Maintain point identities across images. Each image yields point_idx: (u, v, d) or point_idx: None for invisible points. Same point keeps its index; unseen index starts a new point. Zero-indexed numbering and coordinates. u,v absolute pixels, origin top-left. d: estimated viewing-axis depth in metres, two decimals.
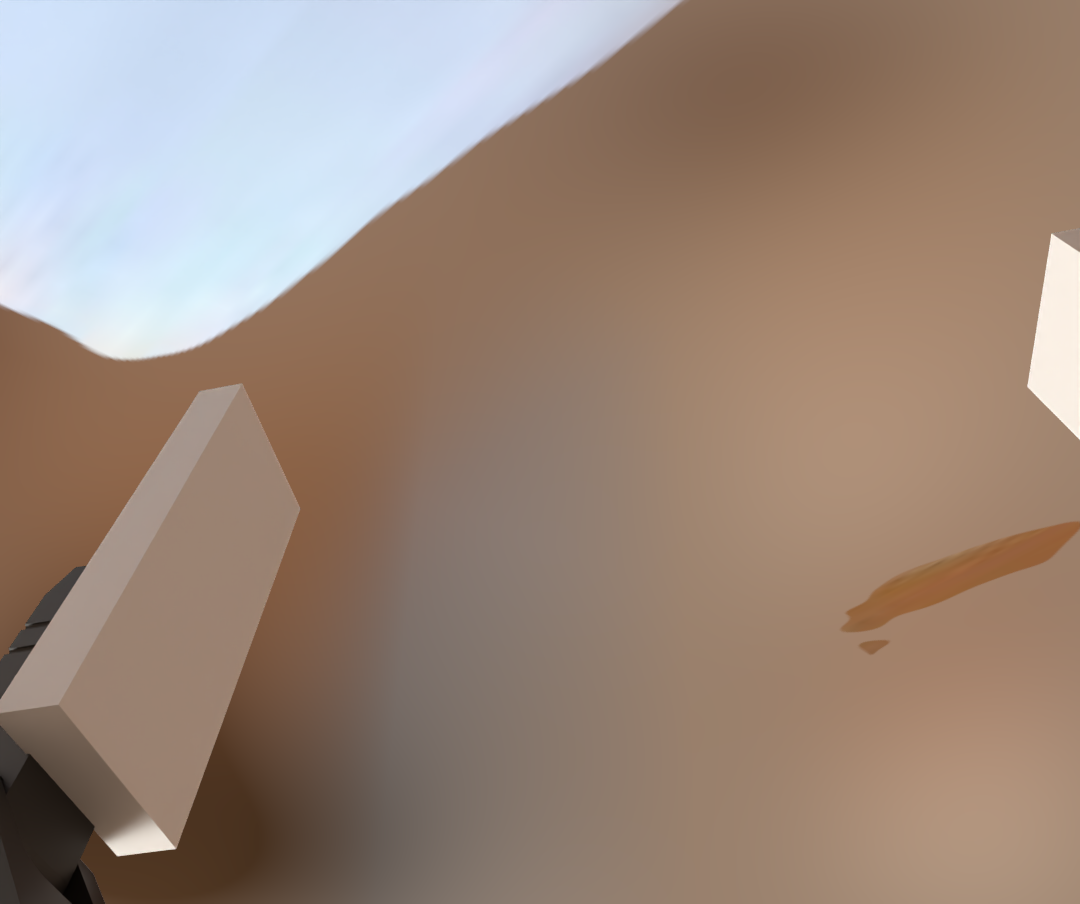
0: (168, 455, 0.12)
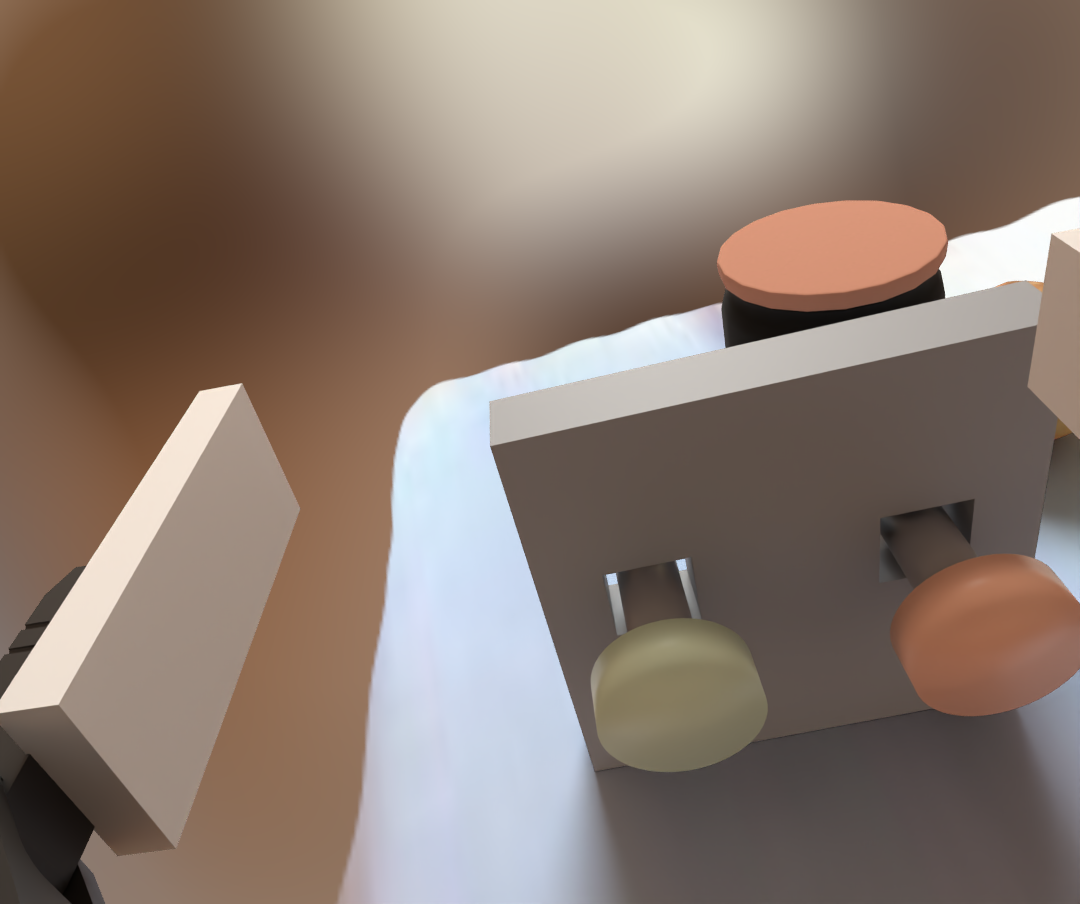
0: (168, 455, 0.12)
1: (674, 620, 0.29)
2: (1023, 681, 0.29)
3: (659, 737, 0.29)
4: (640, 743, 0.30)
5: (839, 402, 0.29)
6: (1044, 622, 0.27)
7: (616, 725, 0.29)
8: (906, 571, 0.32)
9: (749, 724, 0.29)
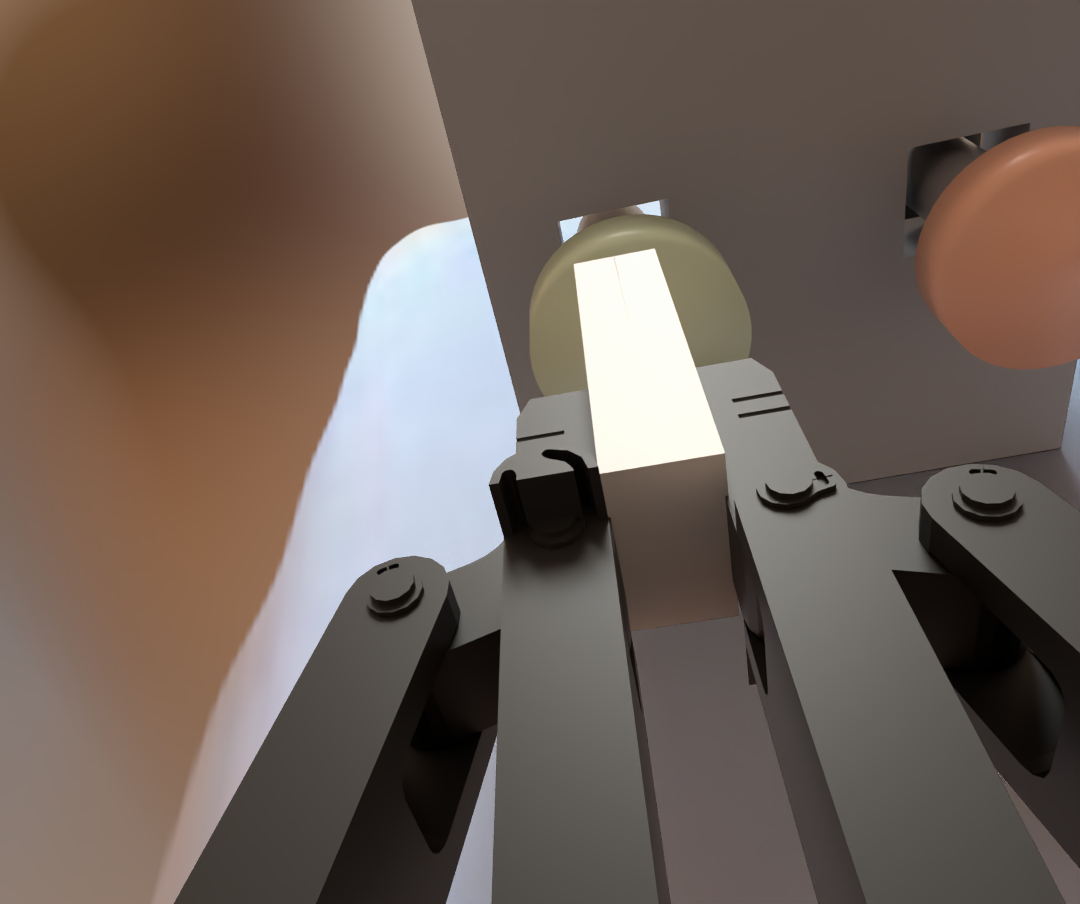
0: (590, 307, 0.13)
1: (635, 215, 0.22)
2: None
3: None
4: (587, 385, 0.23)
5: None
6: None
7: (554, 351, 0.22)
8: None
9: (728, 361, 0.23)
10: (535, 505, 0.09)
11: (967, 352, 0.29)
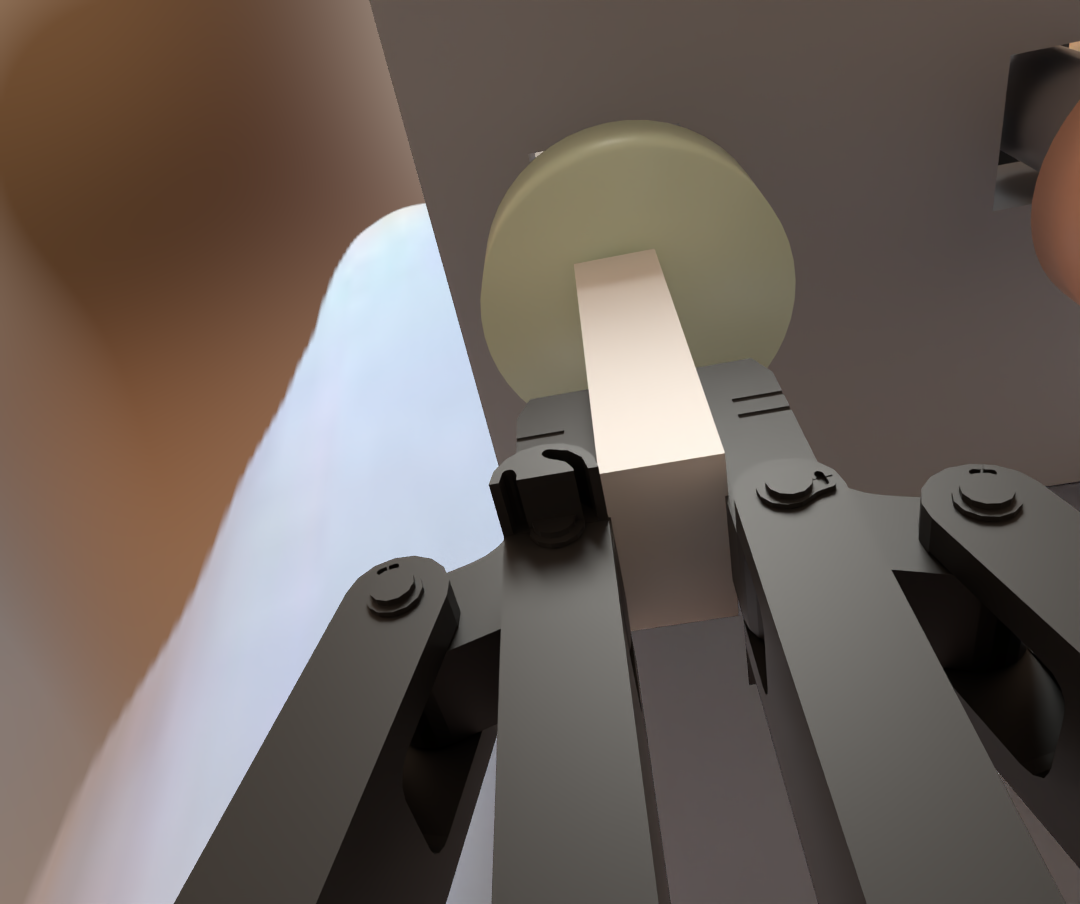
0: (590, 306, 0.13)
1: (631, 120, 0.16)
2: None
3: None
4: (563, 361, 0.17)
5: None
6: None
7: (516, 311, 0.16)
8: None
9: (760, 330, 0.16)
10: (535, 506, 0.09)
11: (1067, 341, 0.23)
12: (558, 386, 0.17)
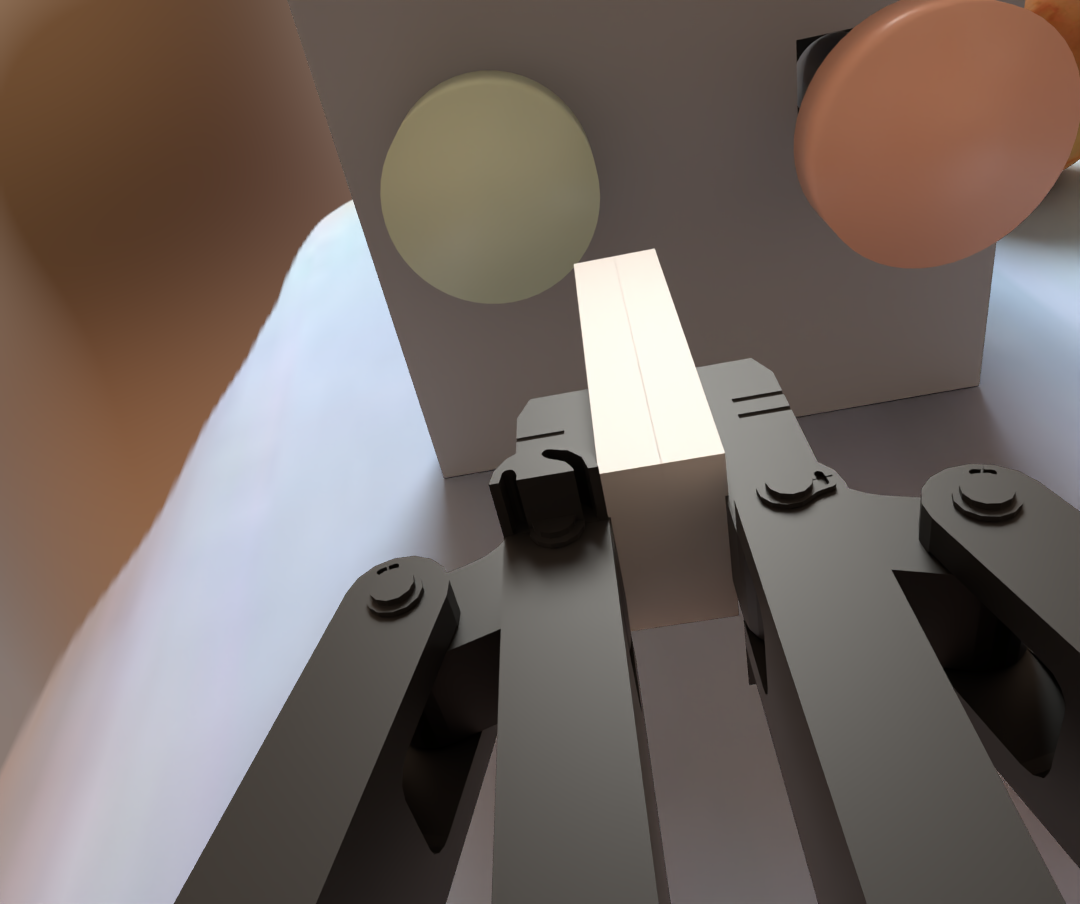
0: (590, 307, 0.13)
1: None
2: (977, 198, 0.20)
3: (465, 232, 0.23)
4: (442, 243, 0.23)
5: None
6: (1006, 65, 0.18)
7: (405, 205, 0.23)
8: None
9: (579, 218, 0.23)
10: (535, 505, 0.09)
11: (874, 276, 0.28)
12: (440, 262, 0.24)
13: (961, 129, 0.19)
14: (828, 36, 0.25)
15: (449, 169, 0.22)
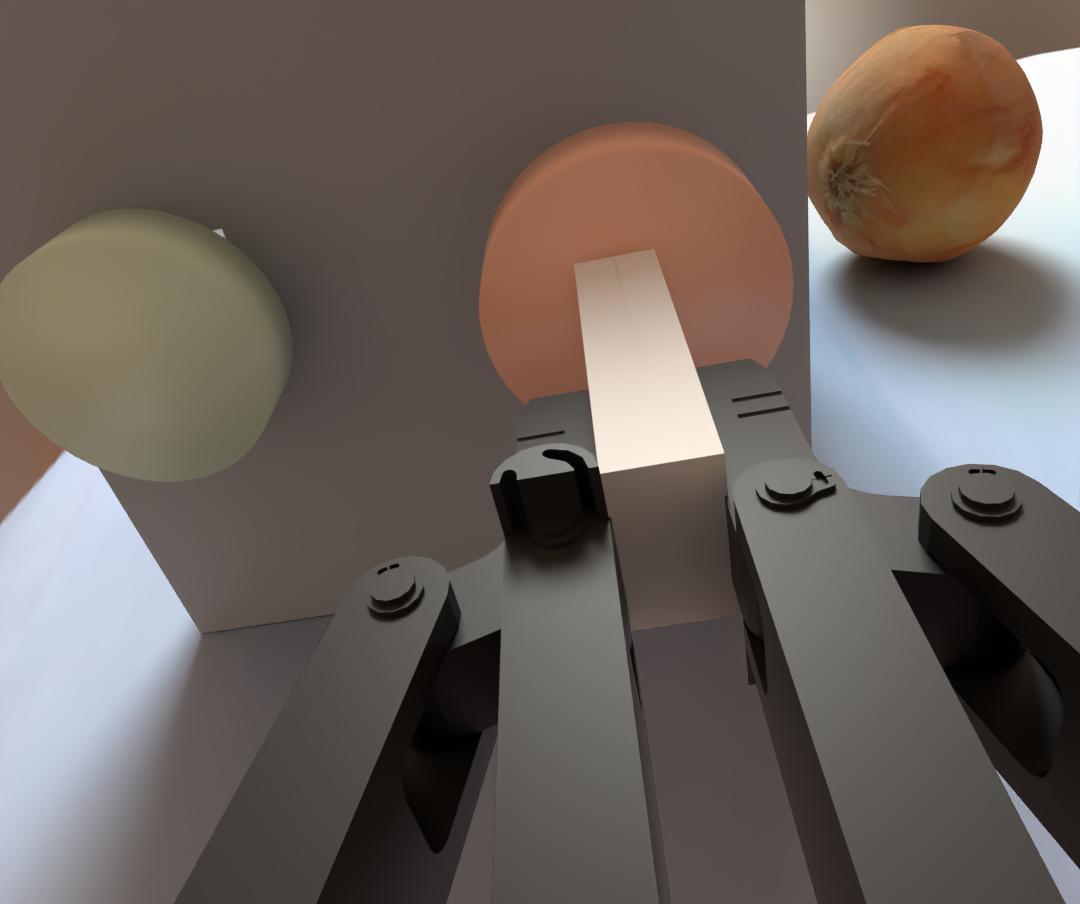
0: (590, 306, 0.13)
1: (125, 209, 0.18)
2: None
3: (110, 405, 0.19)
4: (85, 416, 0.19)
5: None
6: (688, 220, 0.15)
7: (28, 374, 0.18)
8: None
9: (248, 390, 0.19)
10: (536, 505, 0.09)
11: None
12: (89, 437, 0.19)
13: None
14: None
15: (71, 336, 0.18)
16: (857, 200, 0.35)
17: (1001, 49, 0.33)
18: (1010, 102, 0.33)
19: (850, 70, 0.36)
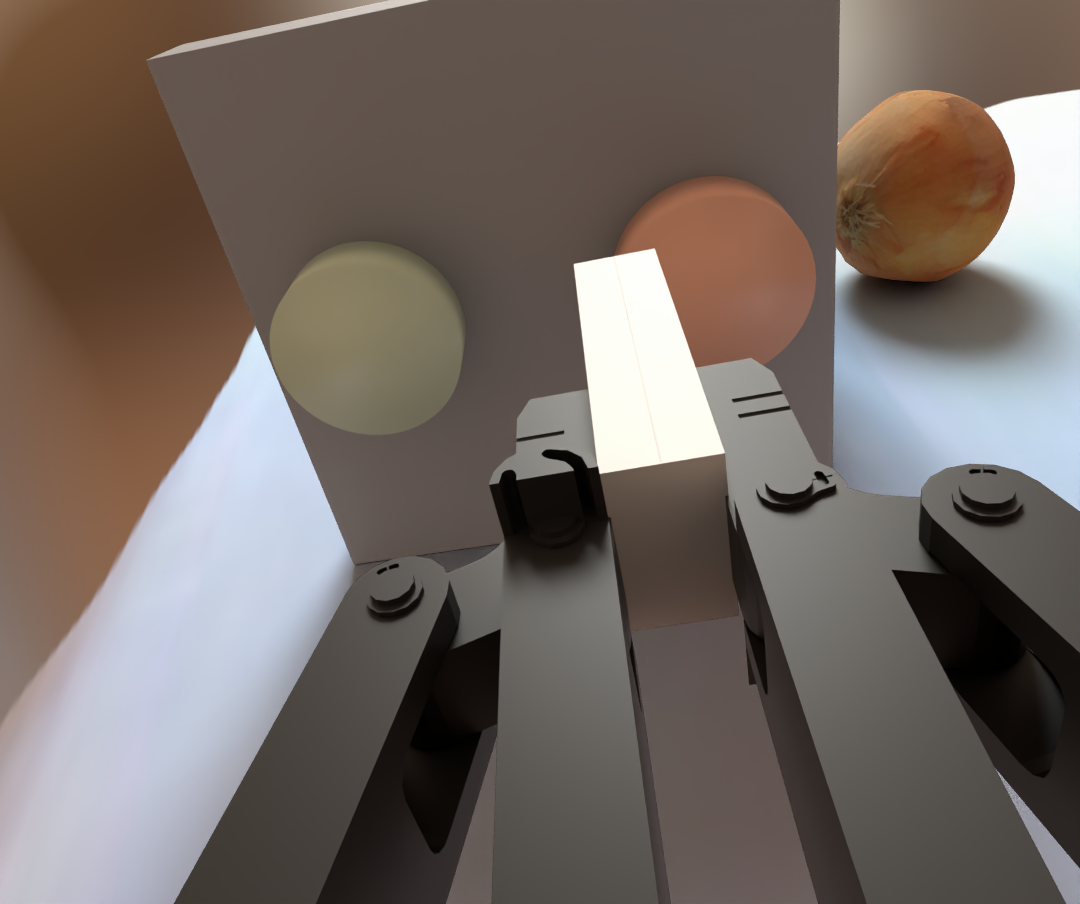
0: (590, 307, 0.13)
1: (363, 242, 0.26)
2: (745, 331, 0.26)
3: (345, 378, 0.27)
4: (326, 386, 0.27)
5: (563, 26, 0.24)
6: (752, 239, 0.24)
7: (292, 356, 0.26)
8: None
9: (444, 369, 0.26)
10: (535, 505, 0.09)
11: None
12: (325, 401, 0.27)
13: (725, 283, 0.25)
14: None
15: (328, 329, 0.26)
16: (864, 231, 0.43)
17: (981, 112, 0.41)
18: (988, 155, 0.41)
19: (859, 125, 0.44)
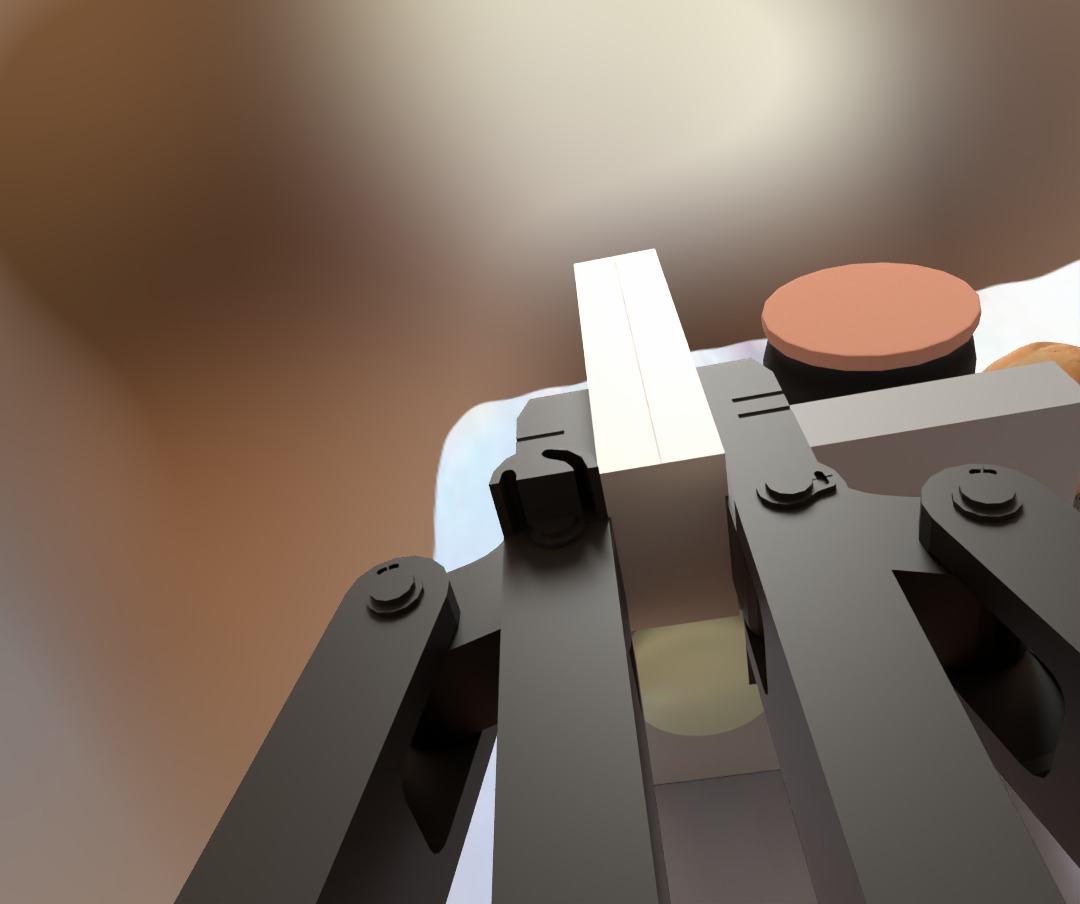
0: (590, 306, 0.13)
1: None
2: None
3: (684, 703, 0.34)
4: (667, 708, 0.35)
5: (875, 465, 0.32)
6: None
7: (647, 691, 0.34)
8: None
9: None
10: (535, 505, 0.09)
11: None
12: (664, 717, 0.35)
13: None
14: None
15: (680, 675, 0.33)
16: None
17: None
18: None
19: None
